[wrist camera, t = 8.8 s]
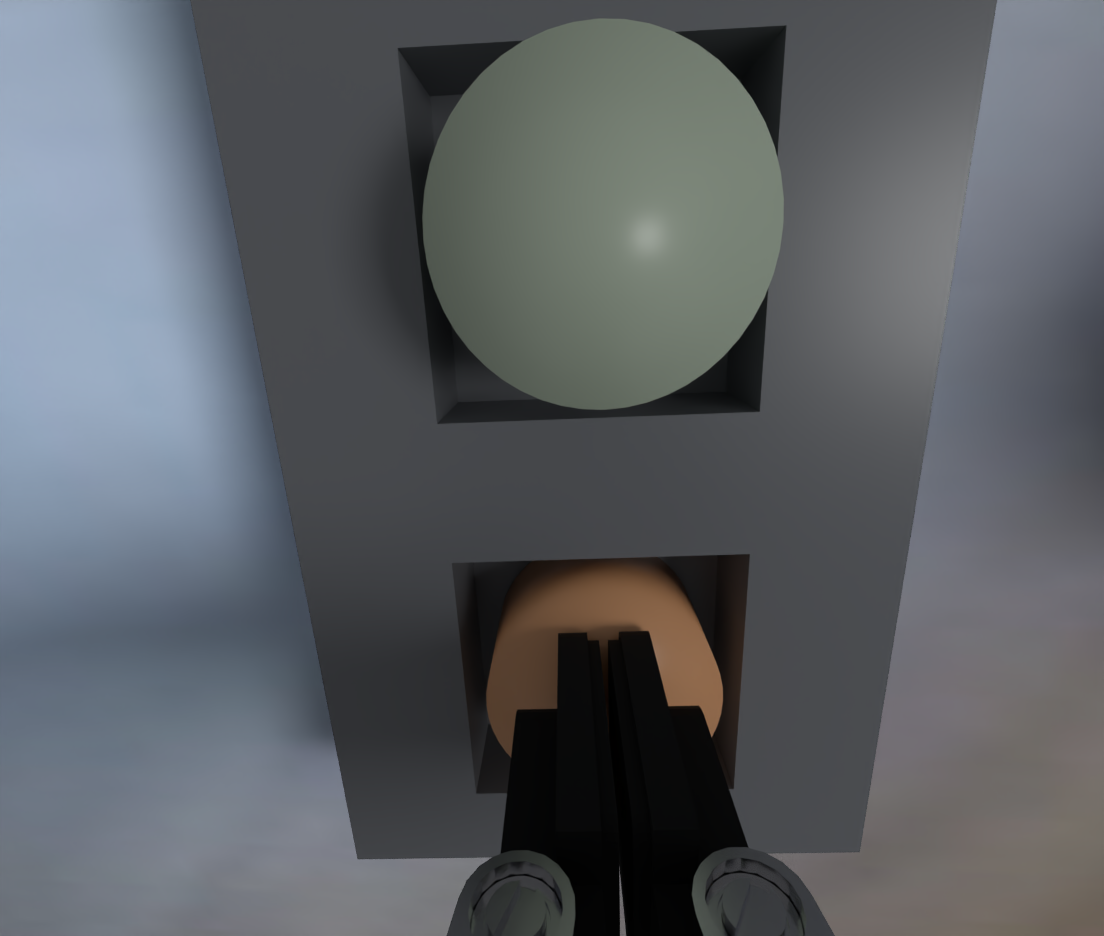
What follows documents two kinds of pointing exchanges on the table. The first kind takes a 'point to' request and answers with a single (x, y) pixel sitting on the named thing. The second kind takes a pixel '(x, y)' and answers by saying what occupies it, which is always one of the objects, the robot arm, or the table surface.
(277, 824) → the table surface
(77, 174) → the table surface
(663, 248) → the sage button
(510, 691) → the terracotta button
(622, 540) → the button panel
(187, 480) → the table surface
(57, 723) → the table surface
